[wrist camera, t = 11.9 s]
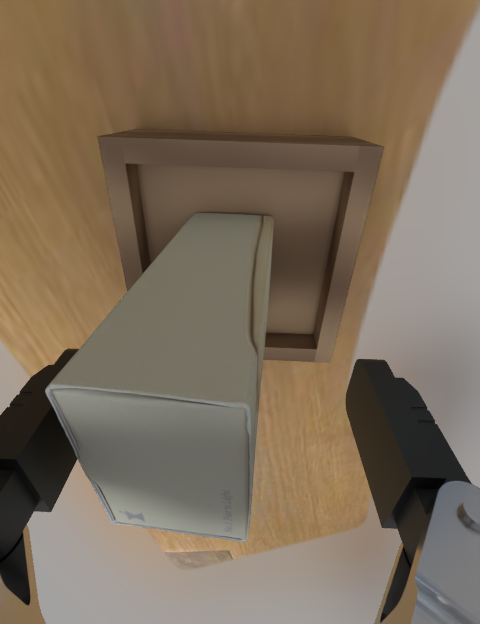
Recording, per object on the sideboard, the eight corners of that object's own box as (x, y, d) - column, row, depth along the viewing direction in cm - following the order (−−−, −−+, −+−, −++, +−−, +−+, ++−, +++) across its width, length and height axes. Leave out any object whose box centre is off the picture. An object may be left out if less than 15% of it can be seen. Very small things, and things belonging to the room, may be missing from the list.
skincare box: (268, 313, 19) (253, 548, 9) (196, 308, 20) (109, 529, 10) (274, 209, 16) (262, 411, 6) (187, 206, 16) (33, 390, 6)
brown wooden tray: (137, 128, 18) (97, 136, 13) (350, 136, 18) (384, 146, 13) (161, 307, 24) (139, 353, 20) (315, 313, 24) (330, 362, 20)
